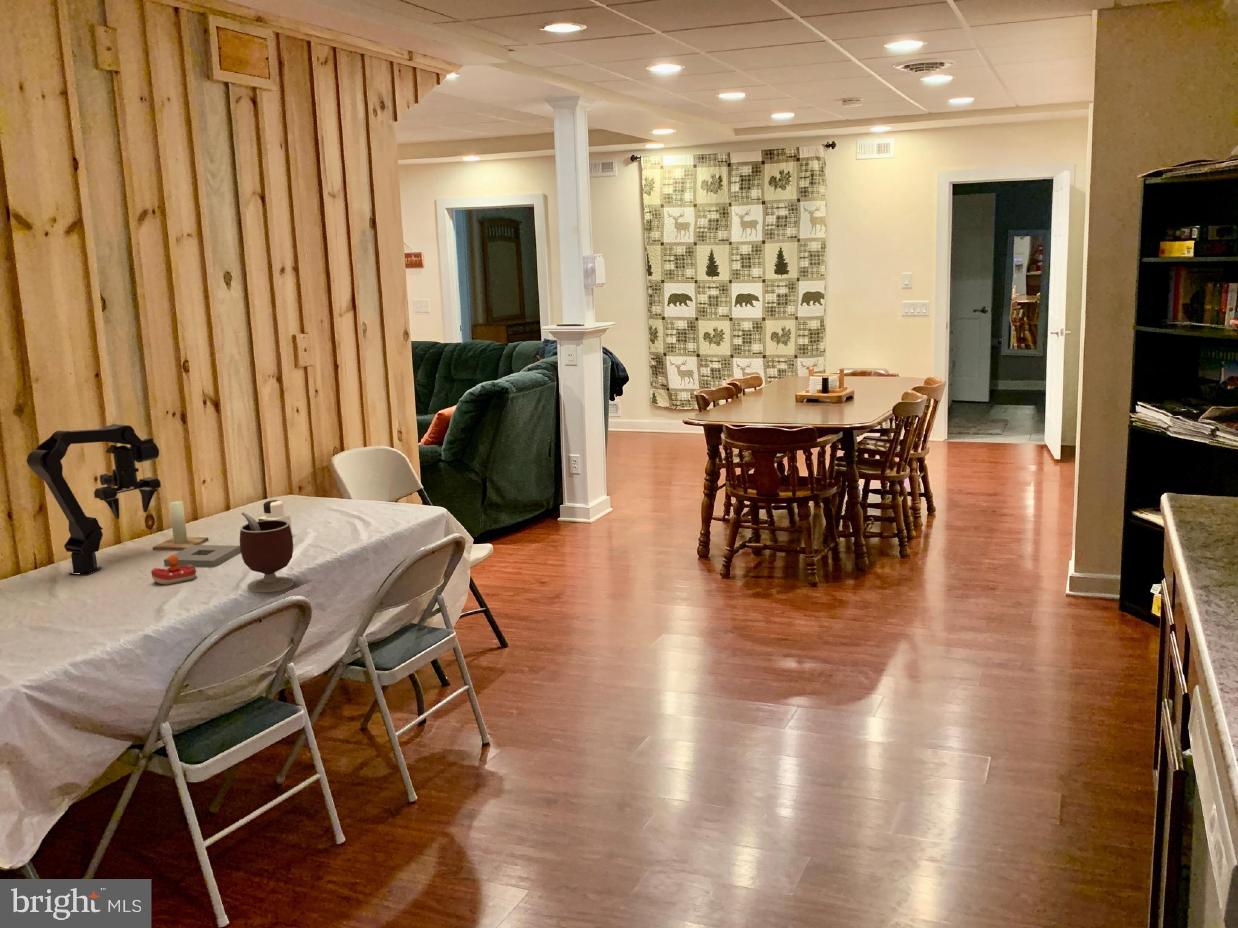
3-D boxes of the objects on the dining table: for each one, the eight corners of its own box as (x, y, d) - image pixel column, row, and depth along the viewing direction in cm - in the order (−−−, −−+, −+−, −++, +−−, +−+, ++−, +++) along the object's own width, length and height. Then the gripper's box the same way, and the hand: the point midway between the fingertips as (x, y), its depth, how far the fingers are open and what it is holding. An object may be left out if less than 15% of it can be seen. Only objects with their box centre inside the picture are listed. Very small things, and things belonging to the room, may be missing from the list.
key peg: (188, 542, 340) (183, 502, 337) (174, 544, 338) (170, 504, 335) (186, 539, 343) (181, 500, 341) (173, 541, 342) (168, 502, 339)
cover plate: (214, 567, 316) (213, 560, 315) (164, 566, 318) (163, 559, 318) (241, 551, 331) (240, 545, 331) (193, 550, 334) (193, 544, 333)
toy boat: (149, 581, 304) (146, 556, 302) (192, 573, 311) (189, 548, 309) (156, 588, 298) (153, 562, 296) (199, 579, 304) (196, 554, 303)
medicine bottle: (260, 539, 346) (256, 502, 343) (276, 533, 352) (273, 498, 349) (276, 541, 342) (272, 504, 340) (292, 535, 349) (289, 499, 346)
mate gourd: (307, 581, 299) (301, 512, 295) (268, 596, 287) (261, 523, 283) (268, 574, 307) (262, 506, 303) (229, 588, 295) (221, 518, 291)
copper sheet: (187, 550, 334) (187, 547, 334) (152, 550, 336) (152, 547, 336) (208, 540, 346) (208, 537, 346) (174, 539, 348) (174, 536, 348)
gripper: (137, 457, 336) (143, 506, 339) (80, 469, 321) (87, 519, 324) (159, 460, 330) (164, 510, 333) (101, 472, 315) (108, 523, 318)
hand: (131, 515), depth 327 cm, fingers open, 9 cm apart
